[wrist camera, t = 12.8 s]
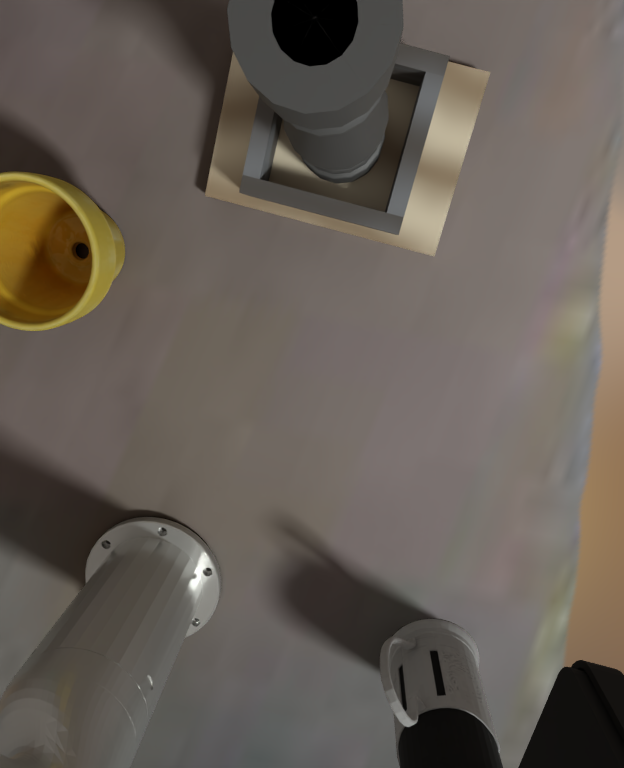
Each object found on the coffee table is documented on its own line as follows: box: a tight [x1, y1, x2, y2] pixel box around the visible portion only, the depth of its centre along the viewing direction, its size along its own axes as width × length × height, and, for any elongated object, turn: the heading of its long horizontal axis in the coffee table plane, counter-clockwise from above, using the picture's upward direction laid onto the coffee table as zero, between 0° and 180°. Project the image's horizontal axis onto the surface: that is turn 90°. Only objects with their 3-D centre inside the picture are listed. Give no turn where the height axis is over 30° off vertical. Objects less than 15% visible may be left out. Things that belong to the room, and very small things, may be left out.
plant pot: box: [0, 171, 125, 331], centre depth 43 cm, size 10×10×10 cm
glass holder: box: [380, 619, 503, 768], centre depth 47 cm, size 9×14×15 cm, turn 32°
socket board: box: [205, 43, 490, 256], centre depth 42 cm, size 13×18×6 cm
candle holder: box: [227, 0, 403, 184], centre depth 31 cm, size 6×6×25 cm
